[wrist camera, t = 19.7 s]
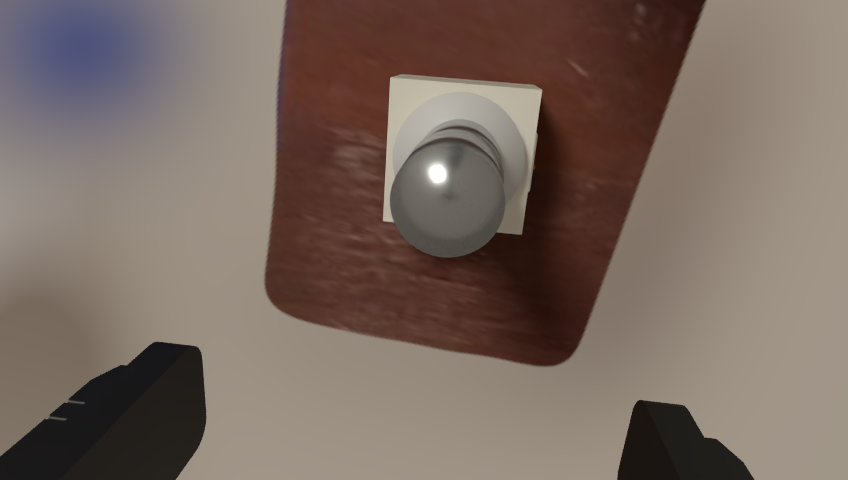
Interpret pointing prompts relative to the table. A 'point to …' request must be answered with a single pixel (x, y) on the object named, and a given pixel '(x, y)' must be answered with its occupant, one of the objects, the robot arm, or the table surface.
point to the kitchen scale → (476, 101)
